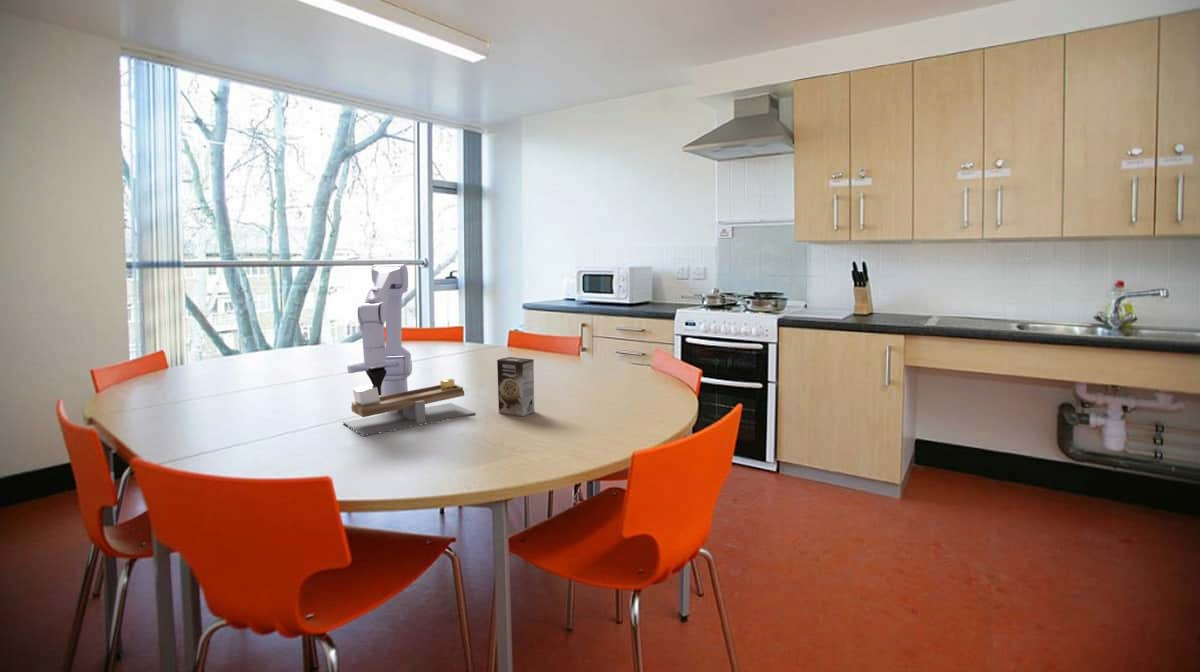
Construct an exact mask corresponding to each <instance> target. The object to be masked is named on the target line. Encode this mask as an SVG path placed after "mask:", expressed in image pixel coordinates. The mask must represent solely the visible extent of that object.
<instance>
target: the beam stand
mask: <svg viewBox="0 0 1200 672" xmlns="http://www.w3.org/2000/svg"><path fill="white" fill-rule="evenodd" d="M395 394H396V393H395ZM475 415H476V412H475V411H472V410H470V409H467V408H465V407H463V406H460V405H457V404H454V403H452V402H449V403H448V402H447V403H443V404H438V405H437V404H436V405H431V406H427V407H426V404H425V401H423V400H422V401H416V402H415V406H414V407H409V408H405V409H400V410H395V412H391V413H387V414H386V413H384V414H379V415H373V416H367V417H362V418H358V419H352V420H345V421H342V424H343V423H344V424H346V425H347V426H349V427H350V428H352V429H354V430H355V431H357V432H358V433H360V434H362V435H367V434H373V435H375V434H374V433H378V434H380V433H379V432H383V433H386V432H385V431H388V432H391V431H390V430H394V429H399V430H401V429H400V428H404V427H409V428H411V427H410V426H414V427H416V426H415V425H419V426H421V425H420V424H424V425H426V424H425V423H430V424H432V423H431V422H435V423H438V422H437V421H440V422H443V421H442V420H445V421H448V420H447V419H450V420H454V418H455V419H459V417H460V418H465V416H466V417H469V416H475ZM344 424H343V425H344ZM347 426H346V427H347ZM350 428H349V429H350ZM352 429H351V430H352ZM404 429H405V428H404ZM355 431H354V432H355ZM394 431H395V430H394ZM358 433H357V434H358ZM360 434H359V435H360Z"/></svg>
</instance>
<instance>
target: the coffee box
mask: <svg viewBox="0 0 1200 672" xmlns="http://www.w3.org/2000/svg"><path fill="white" fill-rule="evenodd" d="M496 362H497V363H496V364H497V396H498V397H497V398H498V401H497V402H498V413H499V414H505V415H511V416H520V417H525V416H527V415H529V414H532V413H534V412H535V380H534V379H535V378H534V375H535V372H534V369H535V368H534V366H535V365H534V362H535V361H534V358H522V357H514V356H511V357H510V356H509V357H502V358H499V359H497V360H496Z"/></svg>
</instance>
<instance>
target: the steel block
mask: <svg viewBox="0 0 1200 672" xmlns="http://www.w3.org/2000/svg"><path fill="white" fill-rule="evenodd" d="M352 392H353V397H354V400H355V401H354V402H356V403H357V404H359V405H361V406H363V407H368V406H373V405H378V404H380V399H379V397H380V396H379V394H378V389H377V387H376V386H374V385H373V384H372V383H369V384H366V385H363V386H359V387H356V388H352Z"/></svg>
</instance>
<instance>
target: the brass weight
mask: <svg viewBox="0 0 1200 672" xmlns="http://www.w3.org/2000/svg"><path fill="white" fill-rule="evenodd" d="M440 385H441V391H446V390H451V389H455V385H456V383H455V378H454V379H453V378H445V379H441V380H440Z"/></svg>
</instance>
